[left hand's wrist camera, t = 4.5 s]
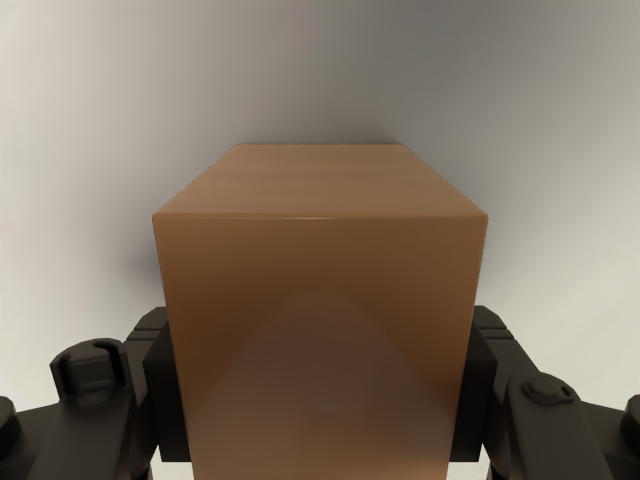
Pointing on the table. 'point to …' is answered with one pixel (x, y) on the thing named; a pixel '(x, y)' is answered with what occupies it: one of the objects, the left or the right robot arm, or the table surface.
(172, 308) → the bar
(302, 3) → the table surface
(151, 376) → the left robot arm
